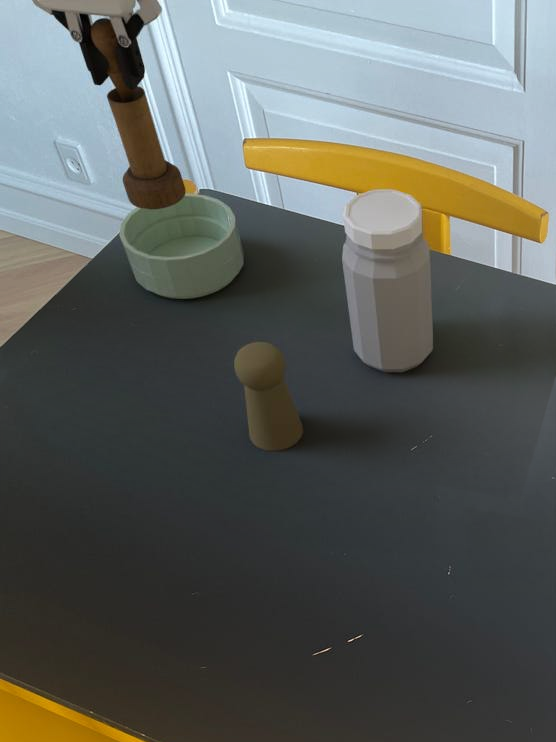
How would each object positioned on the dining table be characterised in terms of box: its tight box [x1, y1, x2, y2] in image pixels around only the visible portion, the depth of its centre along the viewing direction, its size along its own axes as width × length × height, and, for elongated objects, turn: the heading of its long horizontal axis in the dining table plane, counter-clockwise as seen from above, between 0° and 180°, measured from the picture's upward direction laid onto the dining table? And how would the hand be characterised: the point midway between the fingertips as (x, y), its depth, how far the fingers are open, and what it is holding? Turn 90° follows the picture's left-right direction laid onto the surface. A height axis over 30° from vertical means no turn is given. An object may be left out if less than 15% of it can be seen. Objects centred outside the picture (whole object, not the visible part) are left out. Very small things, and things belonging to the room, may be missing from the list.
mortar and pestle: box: [91, 17, 187, 209], centre depth 96 cm, size 7×6×18 cm
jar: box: [341, 189, 434, 373], centre depth 100 cm, size 10×10×18 cm
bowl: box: [119, 192, 245, 300], centre depth 114 cm, size 14×14×6 cm
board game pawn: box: [233, 341, 304, 452], centre depth 96 cm, size 6×6×11 cm
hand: (119, 79), depth 93 cm, fingers closed on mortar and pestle, 3 cm apart
